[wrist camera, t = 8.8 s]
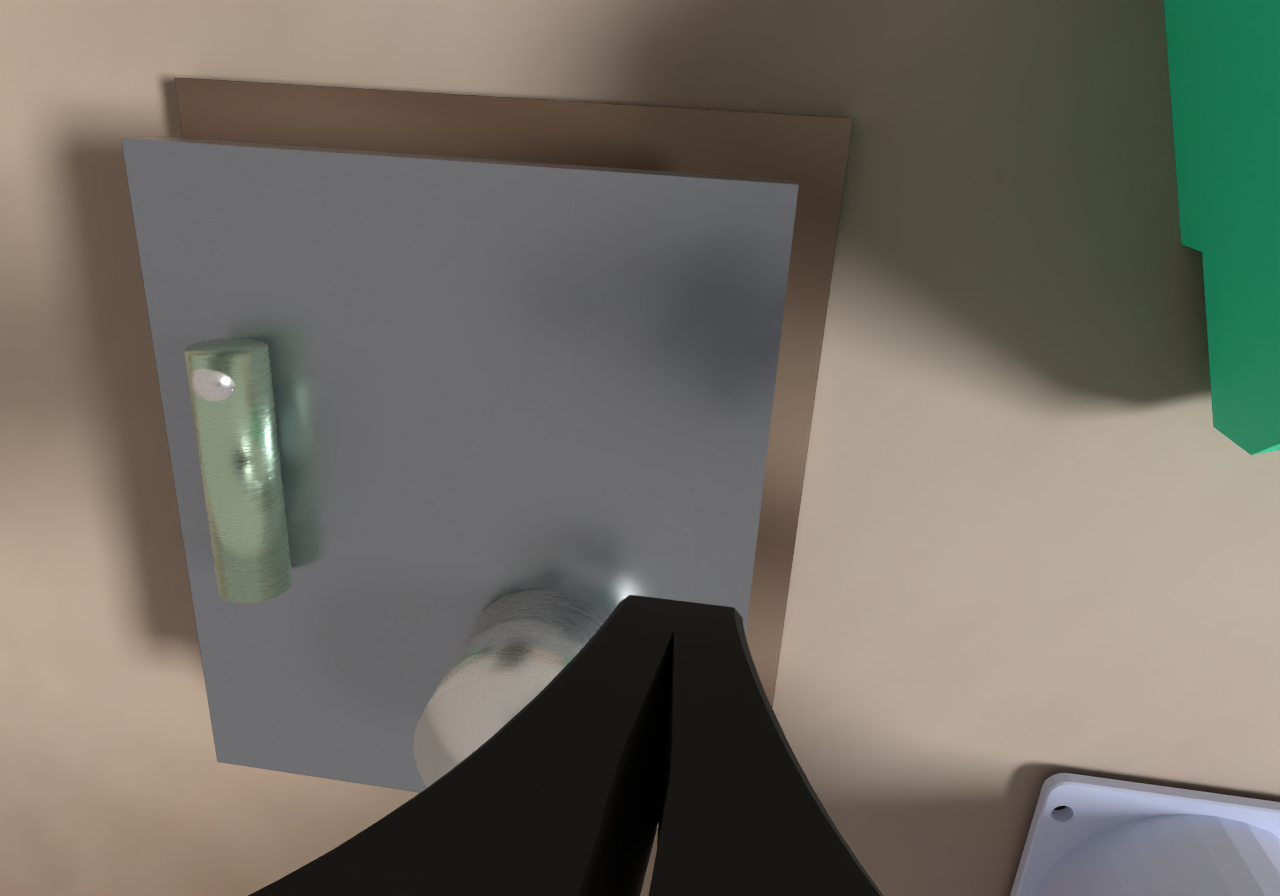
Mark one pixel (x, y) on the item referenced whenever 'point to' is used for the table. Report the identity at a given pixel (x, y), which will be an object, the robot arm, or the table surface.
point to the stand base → (618, 142)
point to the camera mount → (1232, 198)
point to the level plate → (446, 426)
